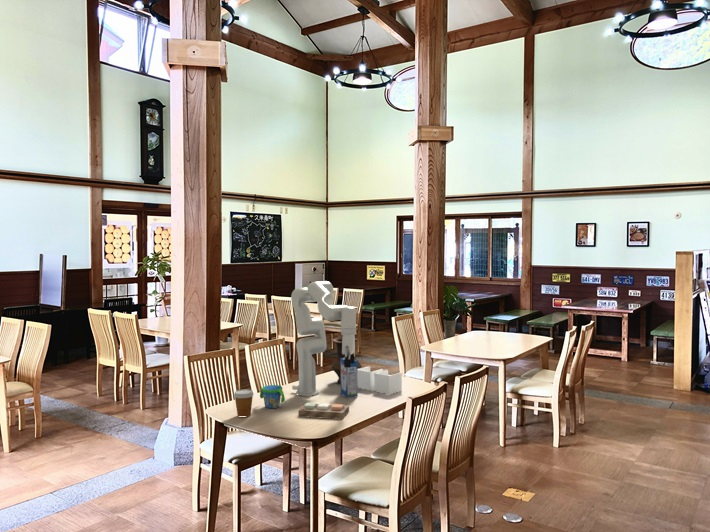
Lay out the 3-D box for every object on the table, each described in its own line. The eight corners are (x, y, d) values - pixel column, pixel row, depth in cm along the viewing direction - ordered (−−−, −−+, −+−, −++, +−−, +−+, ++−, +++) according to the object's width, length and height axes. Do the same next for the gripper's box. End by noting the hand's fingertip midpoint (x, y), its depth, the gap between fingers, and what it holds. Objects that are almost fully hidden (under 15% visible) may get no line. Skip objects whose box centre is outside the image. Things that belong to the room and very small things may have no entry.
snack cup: (290, 407, 281) (289, 387, 280) (274, 412, 273) (274, 391, 272) (270, 401, 291) (270, 383, 291) (254, 406, 283) (254, 387, 283)
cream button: (317, 411, 266) (317, 406, 266) (320, 408, 271) (320, 403, 271) (327, 412, 265) (327, 406, 265) (330, 409, 270) (330, 403, 270)
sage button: (304, 410, 268) (304, 405, 268) (307, 407, 273) (307, 402, 273) (313, 411, 267) (313, 405, 267) (316, 408, 272) (316, 403, 272)
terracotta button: (331, 412, 265) (331, 406, 265) (334, 409, 270) (334, 403, 270) (341, 412, 264) (341, 407, 264) (343, 409, 268) (343, 404, 268)
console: (298, 416, 265) (298, 409, 265) (306, 409, 277) (306, 402, 277) (343, 419, 260) (343, 412, 260) (349, 411, 272) (349, 405, 271)
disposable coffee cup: (244, 419, 261) (244, 395, 260) (230, 416, 266) (229, 392, 265) (258, 414, 269) (257, 390, 268) (243, 411, 274) (243, 388, 273)
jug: (365, 384, 325) (365, 334, 324) (335, 387, 320) (335, 336, 319) (355, 376, 345) (354, 329, 344) (327, 379, 340) (326, 331, 339)
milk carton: (357, 396, 299) (357, 360, 298) (347, 397, 297) (346, 361, 296) (351, 392, 308) (350, 357, 308) (340, 393, 306) (340, 358, 305)
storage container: (356, 388, 318) (356, 369, 318) (369, 384, 326) (369, 366, 326) (389, 395, 301) (389, 375, 301) (401, 391, 309) (401, 372, 309)
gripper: (345, 328, 281) (345, 361, 282) (337, 333, 264) (338, 368, 265) (359, 329, 280) (360, 362, 280) (352, 333, 263) (353, 369, 263)
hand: (349, 365), depth 272 cm, fingers open, 9 cm apart
